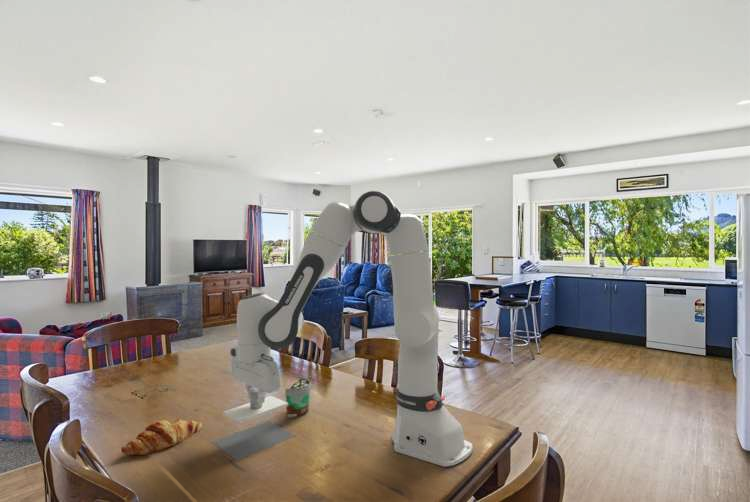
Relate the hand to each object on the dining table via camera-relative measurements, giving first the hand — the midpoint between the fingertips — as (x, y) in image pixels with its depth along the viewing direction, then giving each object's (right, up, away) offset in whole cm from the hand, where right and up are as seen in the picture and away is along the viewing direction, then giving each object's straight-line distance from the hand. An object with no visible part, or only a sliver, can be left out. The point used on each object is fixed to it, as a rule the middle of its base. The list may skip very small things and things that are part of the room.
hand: (256, 400), depth 112 cm
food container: (+9, -11, +18) cm, 24 cm away
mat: (-1, -11, 0) cm, 11 cm away
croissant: (-25, -12, -1) cm, 28 cm away
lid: (0, -3, 0) cm, 3 cm away
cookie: (-50, -12, +39) cm, 64 cm away
